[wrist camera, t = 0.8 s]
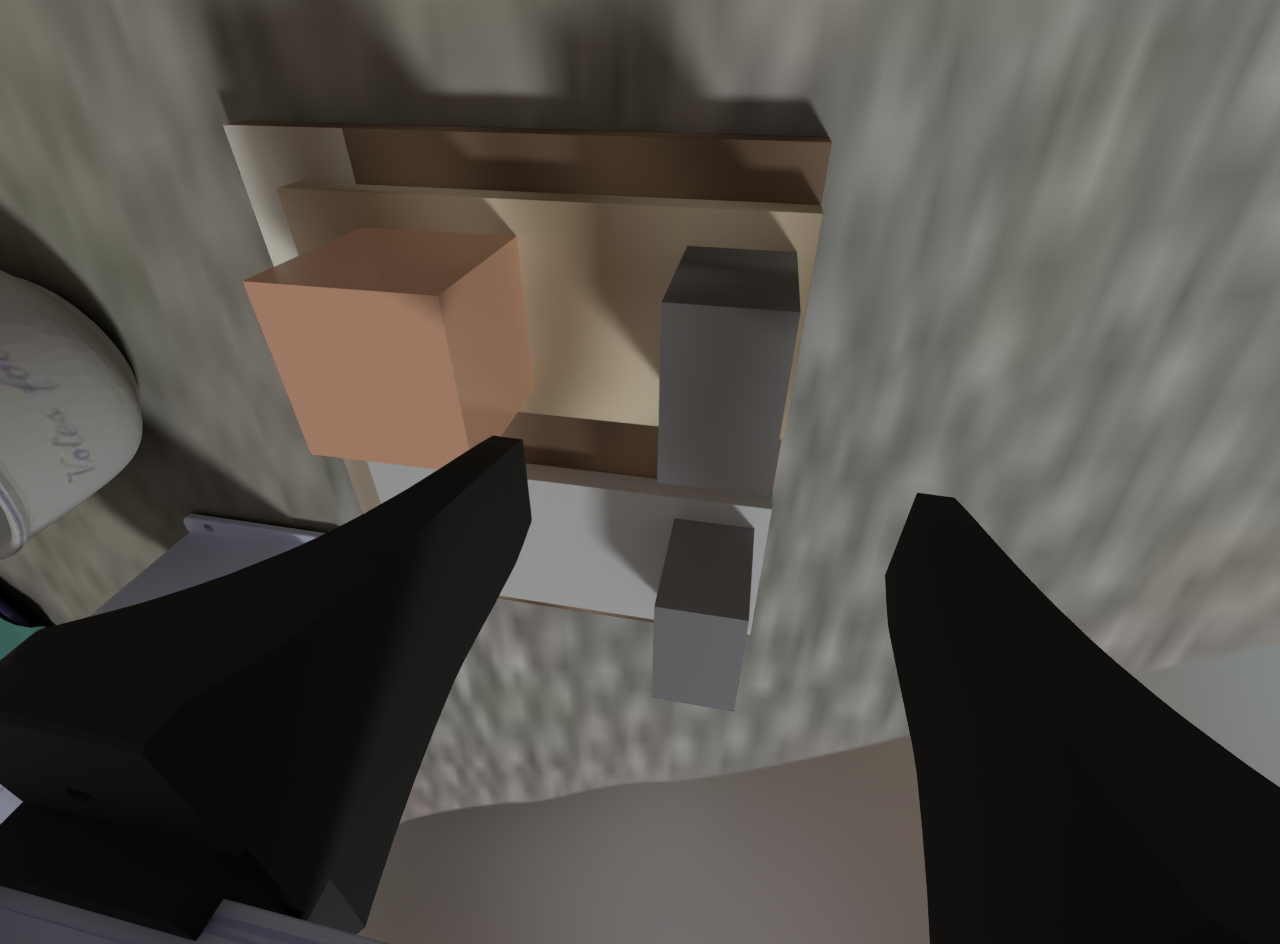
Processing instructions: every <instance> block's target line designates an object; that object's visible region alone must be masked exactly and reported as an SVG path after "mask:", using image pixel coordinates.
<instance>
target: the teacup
mask: <svg viewBox="0 0 1280 944" xmlns="http://www.w3.org/2000/svg"><path fill="white" fill-rule="evenodd" d="M139 404H140V398H139V391H138V386H137V383H136V379H135V377H134V374H133V372H132V370H131V368H130V366H129V365H128V363H127V361H126V359H125V358H124V356H123V355H122V353H121V352H120V351H119V349H118V348H117V347H116V345H115V344H114V343H113V342H112V341H111V340H110V338H109V337H108V336H107V335H106V334H105V333H104V332H103V331H102V330H101V329H100V328H99V327H98V326H97V325H96V324H95V323H94V322H93V321H92V320H91V319H90V318H88V317H87V316H86V315H85V314H84V313H82V312H81V311H80V310H79V309H78V308H76V307H75V306H74V305H72V304H71V303H69V302H68V301H67V300H65V299H63V298H62V297H60V296H58V295H57V294H55V293H53V292H51V291H49V290H47V289H45V288H43V287H41V286H39V285H36V284H34V283H32V282H29V281H27V280H25V279H21V278H17V277H14V276H12V275H10V274H8V273H6V272H3V271H1V270H0V559H4V558H7V557H10V556H12V555H14V554H15V553H17V552H18V551H19V550H20V549H21V548H22V547H23V546H24V544H25V543H26V542H27V540H29V539H30V538H32V537H33V536H34V535H36V534H37V533H39V532H40V531H42V530H43V529H45V528H46V527H48V526H49V525H51V524H52V523H53V522H55V521H56V520H58V519H59V518H61V517H62V516H63V515H65V514H66V513H68V512H69V511H70V510H72V509H73V508H75V507H76V506H78V505H79V504H80V503H82V502H83V501H85V500H86V499H87V498H88V497H90V496H91V495H92V494H94V493H95V492H96V491H98V490H99V489H100V488H102V487H103V486H104V485H106V484H107V483H108V482H109V481H110V480H112V479H113V478H114V477H115V476H116V475H117V474H118V473H120V472H121V471H122V470H123V469H124V468H125V467H126V466H127V464H128V463H129V462H130V461H131V460H132V458H133V457H134V455H135V454H136V452H137V450H138V447H139V444H140V442H141V438H142V431H143V421H142V413H141V409H140V405H139Z"/></svg>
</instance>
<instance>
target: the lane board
mask: <svg viewBox="0 0 1280 944" xmlns="http://www.w3.org/2000/svg"><path fill="white" fill-rule="evenodd" d="M223 127H224V129H225V132H226V135H227V138H228V140H229V143H230V146H231V149H232V152H233V154H234V157H235V160H236V163H237V165H238V168H239V171H240V174H241V177H242V179H243V182H244V185H245V188H246V190H247V193H248V196H249V199H250V202H251V204H252V207H253V210H254V213H255V215H256V218H257V221H258V224H259V227H260V229H261V232H262V235H263V238H264V240H265V243H266V246H267V249H268V252H269V254H270V257H271V260H272V263H273V265H274V267H275V266H277V265H279V264H282V263H284V262H286V261H288V260H290V259H293V258H295V257H297V256H298V253H297V249H296V246H295V243H294V240H293V237H292V234H291V231H290V228H289V225H288V222H287V219H286V216H285V213H284V210H283V207H282V204H281V201H280V198H279V195H278V192H277V189H276V188H278V187H281V186H285V185H288V184H291V183H294V182H319V183H341V184H364V185H386V186H408V187H430V188H453V189H475V190H497V191H520V192H542V193H564V194H587V195H609V196H631V197H653V198H676V199H698V200H720V201H743V202H765V203H787V204H810V205H821V202H822V196H823V190H824V184H825V179H826V173H827V167H828V161H829V155H830V149H831V143H832V142H831V140H830V138H829V137H807V136H771V135H735V134H699V133H663V132H627V131H591V130H555V129H519V128H483V127H446V126H410V125H374V124H338V123H302V122H266V121H244V122H237V123H231V124H225V125H223ZM501 437H509V438H516V439H523V445H524V454H525V462H526V463H528V464H536V465H545V466H553V467H562V468H570V469H578V470H587V471H595V472H604V473H612V474H621V475H629V476H638V477H646V478H654V479H657V467H658V426H650V425H640V424H631V423H621V422H612V421H602V420H593V419H583V418H574V417H564V416H554V415H545V414H535V413H526V412H518V413H517V414H516V416H515V417H514V418H513V420H512V421H511V423H510V424H509V425H508V427H507V428H506V430H505V431H504V433H503V434H502V435H501ZM780 444H781V439H779V445H778V451H777V457H776V463H775V468H774V474H773V480H772V486H771V492H772V491H773V485H774V479H775V473H776V467H777V461H778V455H779V449H780ZM343 460H344V462H345V465H346V468H347V471H348V474H349V476H350V479H351V482H352V485H353V487H354V490H355V493H356V496H357V499H358V501H359V504H360V507H361V510H362V512H363V514H364V513H366V512H368V511H369V510H371V509H373V508H375V507H376V506H378V505H380V504H381V502H380V499H379V496H378V493H377V490H376V487H375V484H374V481H373V478H372V475H371V472H370V469H369V466H368V463H367V461H363V460H355V459H347V458H343ZM498 598H499V599H505V600H512V601H518V602H525V603H531V604H537V605H544V606H550V607H557V608H563V609H569V610H576V611H582V612H589V613H595V614H601V615H608V616H614V617H620V618H627V619H633V620H640V621H646V622H652V623H654V620H653V619H647V618H640V617H634V616H627V615H621V614H614V613H608V612H602V611H595V610H589V609H582V608H576V607H569V606H563V605H557V604H550V603H544V602H537V601H531V600H524V599H518V598H512V597H505V596H499V597H498ZM746 637H748V634H747V636H746Z"/></svg>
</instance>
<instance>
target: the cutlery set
mask: <svg viewBox="0 0 1280 944" xmlns="http://www.w3.org/2000/svg"><path fill="white" fill-rule="evenodd" d="M44 628H46V626H41V627H33V628H32V627H31V625H30V624H29V623H28V622H27V621H26V620H25V619H24V618H22V617H21V616H20V615H19V614H18V613H17V612H15V611H14V610H13V609H12V608H11V607H10V606H9V605H7V604H6V603H5V602H4V601H3V600H2V599H1V598H0V660H1V659H2V658H3V657H5V656H6V655H7V654H8V653H10V652H11V651H12V650H13V649H15V648H16V647H17V646H18V645H19V644H21V643H22V642H23V641H24V640H26V639H27V638H28V637H29V636H31V635H32V634H33V633H35V632H36V631H38V630H40V629H44Z"/></svg>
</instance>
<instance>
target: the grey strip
mask: <svg viewBox="0 0 1280 944" xmlns="http://www.w3.org/2000/svg"><path fill="white" fill-rule="evenodd" d="M367 463H368V466H369V469H370V472H371V475H372V478H373V481H374V484H375V487H376V490H377V493H378V496H379V499H380V502H381V504H382V503H383V502H385V501H387V500H389V499H390V498H392V497H394V496H396V495H397V494H399V493H401V492H403V491H404V490H406V489H408V488H409V487H411V486H413V485H414V484H416V483H417V482H419V481H421V480H422V479H424V478H425V477H427V476H429V475H430V474H432V473H433V472H435V471H437V470H436V469H428V468H420V467H412V466H404V465H396V464H388V463H380V462H371V461H367ZM526 471H527V480H528V489H529V498H530V507H531V516H532V522H531V524H530V527H529V530H528V533H527V536H526V539H525V541H524V544H523V547H522V549H521V552H520V554H519V557H518V560H517V562H516V565H515V566H514V568H513V570H512V572H511V574H510V576H509V578H508V580H507V582H506V584H505V586H504V587H503V589H502V591H501V593H500V595H499V596H505V597H512V598H518V599H524V600H531V601H537V602H544V603H550V604H557V605H563V606H569V607H576V608H582V609H589V610H595V611H602V612H608V613H614V614H621V615H627V616H634V617H640V618H647V619H653V620H654V640H653V683H652V697H653V698H659V699H664V700H670V701H676V702H681V703H687V704H693V705H698V706H704V707H710V708H715V709H721V710H727V711H733V712H734V707H735V701H736V695H737V689H738V683H739V677H740V671H741V665H742V659H743V653H744V648H745V642H746V636H747V634H749V635H750V633H751V627H752V621H753V616H754V610H755V604H756V598H757V592H758V587H759V581H760V575H761V569H762V564H763V558H764V552H765V546H766V540H767V535H768V529H769V523H770V517H771V512H772V492H770V496H765V495H757V494H749V493H740V492H732V491H723V490H715V489H707V488H698V487H690V486H682V485H673V484H665V483H657V479H654V478H646V477H638V476H629V475H621V474H612V473H604V472H595V471H587V470H578V469H570V468H562V467H553V466H545V465H536V464H528V463H526Z"/></svg>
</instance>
